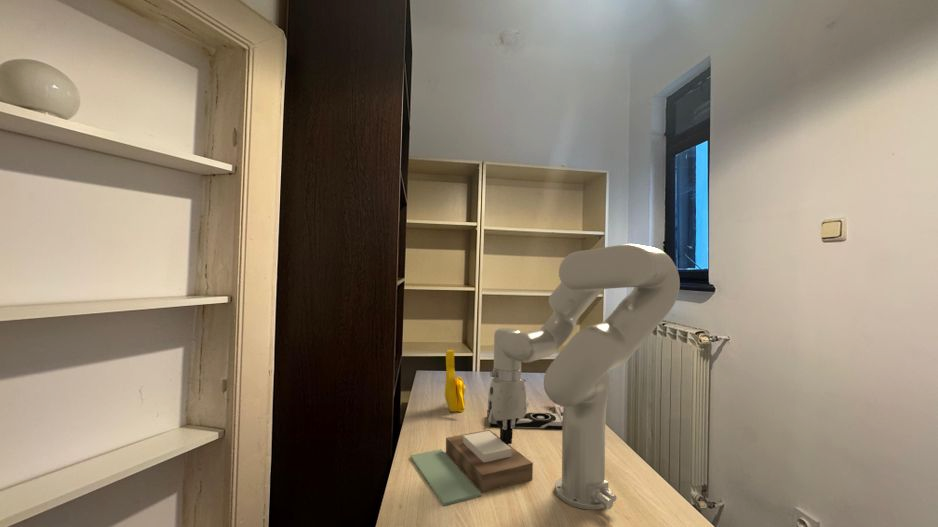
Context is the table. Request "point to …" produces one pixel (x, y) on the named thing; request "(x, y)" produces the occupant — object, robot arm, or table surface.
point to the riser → (489, 466)
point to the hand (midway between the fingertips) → (506, 442)
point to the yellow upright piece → (453, 386)
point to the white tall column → (559, 411)
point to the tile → (487, 446)
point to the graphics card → (537, 421)
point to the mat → (444, 477)
